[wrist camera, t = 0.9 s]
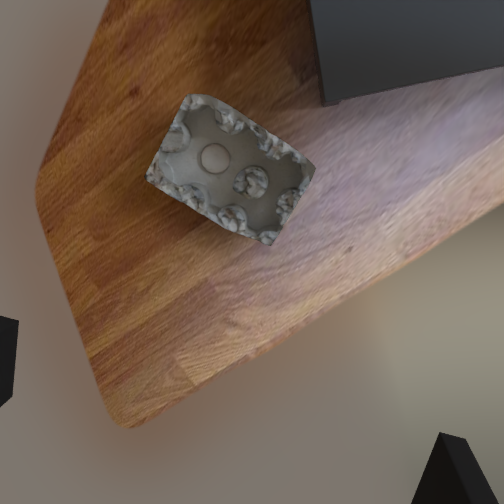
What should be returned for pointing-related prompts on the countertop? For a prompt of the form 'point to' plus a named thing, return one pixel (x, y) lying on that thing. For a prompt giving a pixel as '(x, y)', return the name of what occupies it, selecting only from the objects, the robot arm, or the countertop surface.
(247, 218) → the egg carton
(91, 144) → the countertop surface
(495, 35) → the shelf
